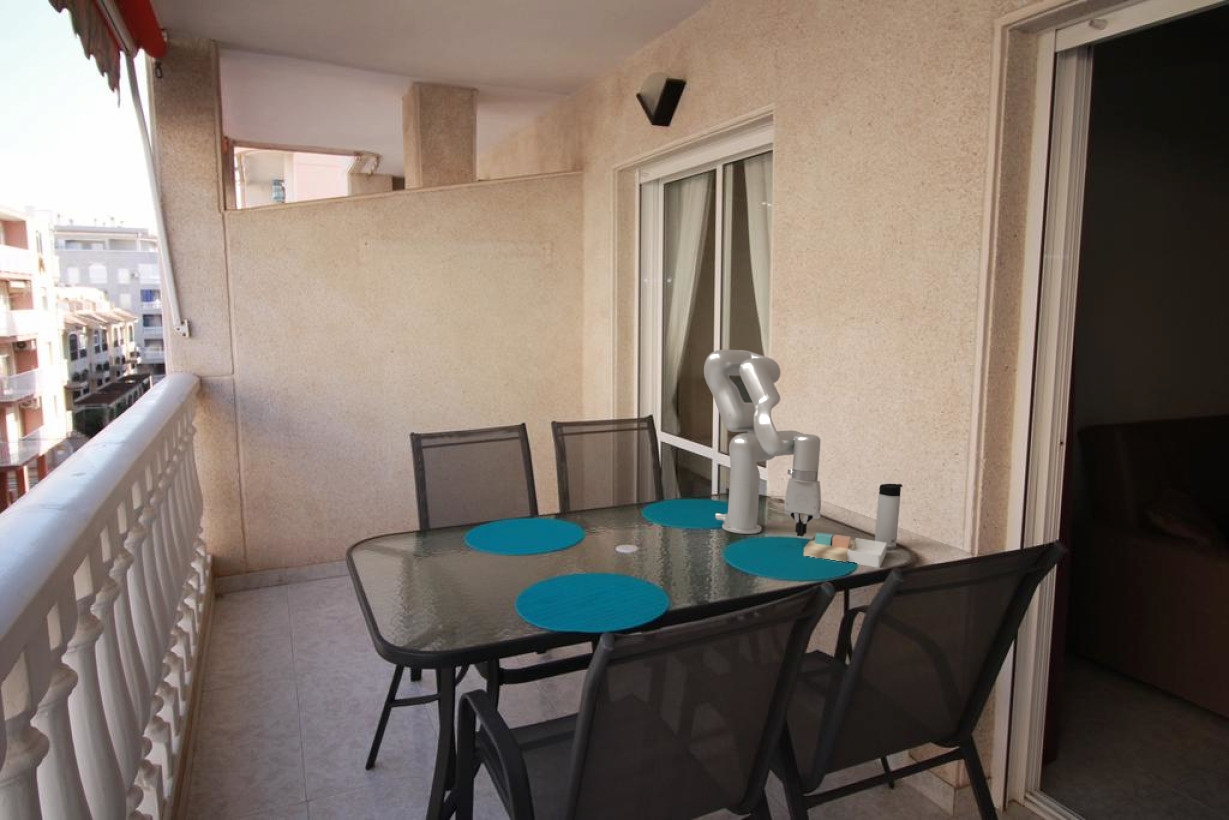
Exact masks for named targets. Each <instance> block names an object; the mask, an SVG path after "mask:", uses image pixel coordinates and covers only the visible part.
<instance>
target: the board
mask: <svg viewBox="0 0 1229 820" xmlns="http://www.w3.org/2000/svg"><path fill="white" fill-rule="evenodd" d="M854 548H855V539H851V540H850V546H849V547H848V549H847V548H841V547H835V546H832V544H831V545H830V546H828V545H822V544H816V543H815V535H814V536H813V537H812V538H811V539H810V540H809V541H808V543H806V545H805V546H804V547H803V557H806V556H810V557H809V558H812V557H815V558H814V559H818V558H823V559H822V560H824V559H830V560H836V561H843V562H846V561H847V551H848V550H852V551H853V550H854ZM830 560H829V561H830ZM836 561H835V562H836ZM846 563H847V562H846Z"/></svg>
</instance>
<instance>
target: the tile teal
mask: <svg viewBox="0 0 1229 820" xmlns="http://www.w3.org/2000/svg"><path fill="white" fill-rule="evenodd" d="M834 535H835V534H834V533H828V532H821V531H818V532H816V534H815V535H814V536H815V543H816V544H822V545H828V546H830V545H831V544H832V539H833V537H834Z"/></svg>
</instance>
